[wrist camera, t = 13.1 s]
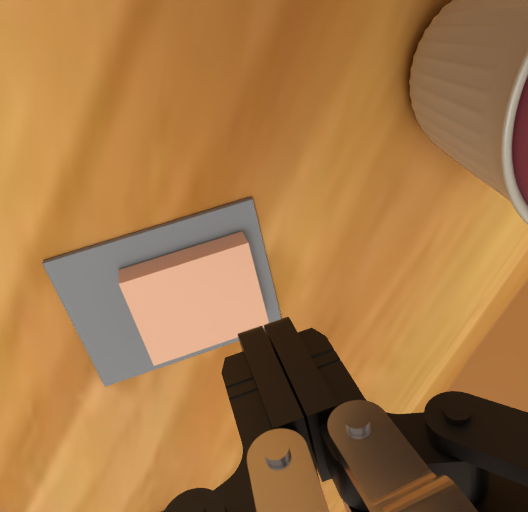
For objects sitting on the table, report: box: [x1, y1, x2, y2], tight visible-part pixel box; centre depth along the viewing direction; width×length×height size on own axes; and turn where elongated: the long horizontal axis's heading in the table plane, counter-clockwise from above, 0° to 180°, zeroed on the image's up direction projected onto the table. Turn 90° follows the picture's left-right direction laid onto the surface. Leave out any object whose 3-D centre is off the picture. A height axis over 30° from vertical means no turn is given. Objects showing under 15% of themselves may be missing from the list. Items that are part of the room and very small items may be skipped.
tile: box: [118, 231, 269, 366], centre depth 44 cm, size 3×9×11 cm
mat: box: [43, 197, 281, 387], centre depth 46 cm, size 18×14×1 cm
